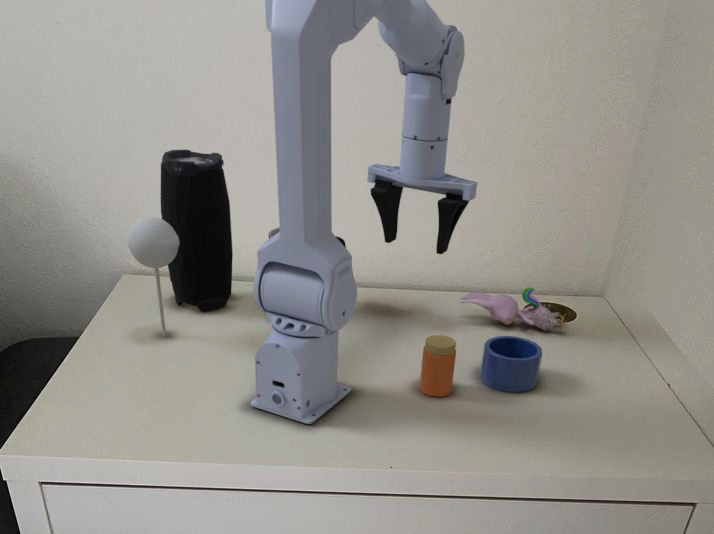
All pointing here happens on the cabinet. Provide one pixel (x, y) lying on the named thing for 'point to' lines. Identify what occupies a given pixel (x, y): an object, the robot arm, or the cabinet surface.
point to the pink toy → (516, 309)
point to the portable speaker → (198, 227)
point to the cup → (510, 363)
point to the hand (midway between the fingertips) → (415, 246)
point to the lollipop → (154, 249)
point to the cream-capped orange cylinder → (438, 365)
